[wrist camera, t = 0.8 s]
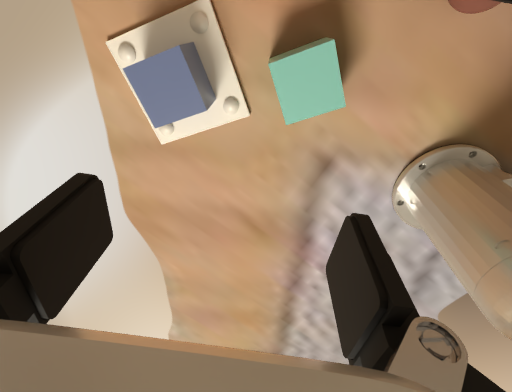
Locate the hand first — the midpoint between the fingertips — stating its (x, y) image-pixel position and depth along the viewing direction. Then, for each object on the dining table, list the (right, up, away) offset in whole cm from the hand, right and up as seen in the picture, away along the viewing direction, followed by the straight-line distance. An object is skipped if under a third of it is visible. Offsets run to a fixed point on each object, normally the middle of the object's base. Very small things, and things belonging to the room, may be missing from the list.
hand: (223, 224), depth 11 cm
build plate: (-7, +14, +20) cm, 25 cm away
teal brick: (+7, +14, +19) cm, 25 cm away
